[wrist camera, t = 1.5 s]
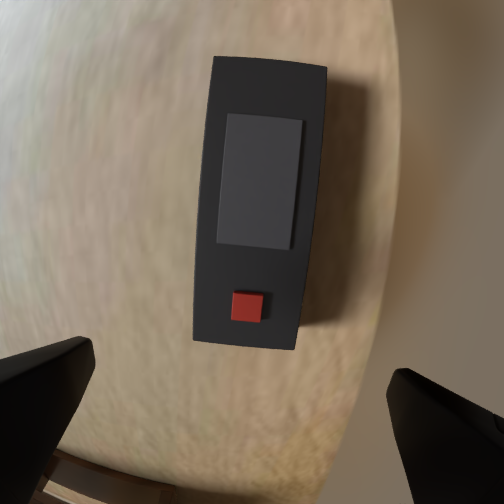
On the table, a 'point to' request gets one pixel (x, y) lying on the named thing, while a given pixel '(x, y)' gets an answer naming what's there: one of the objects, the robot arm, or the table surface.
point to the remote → (257, 200)
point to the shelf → (100, 483)
